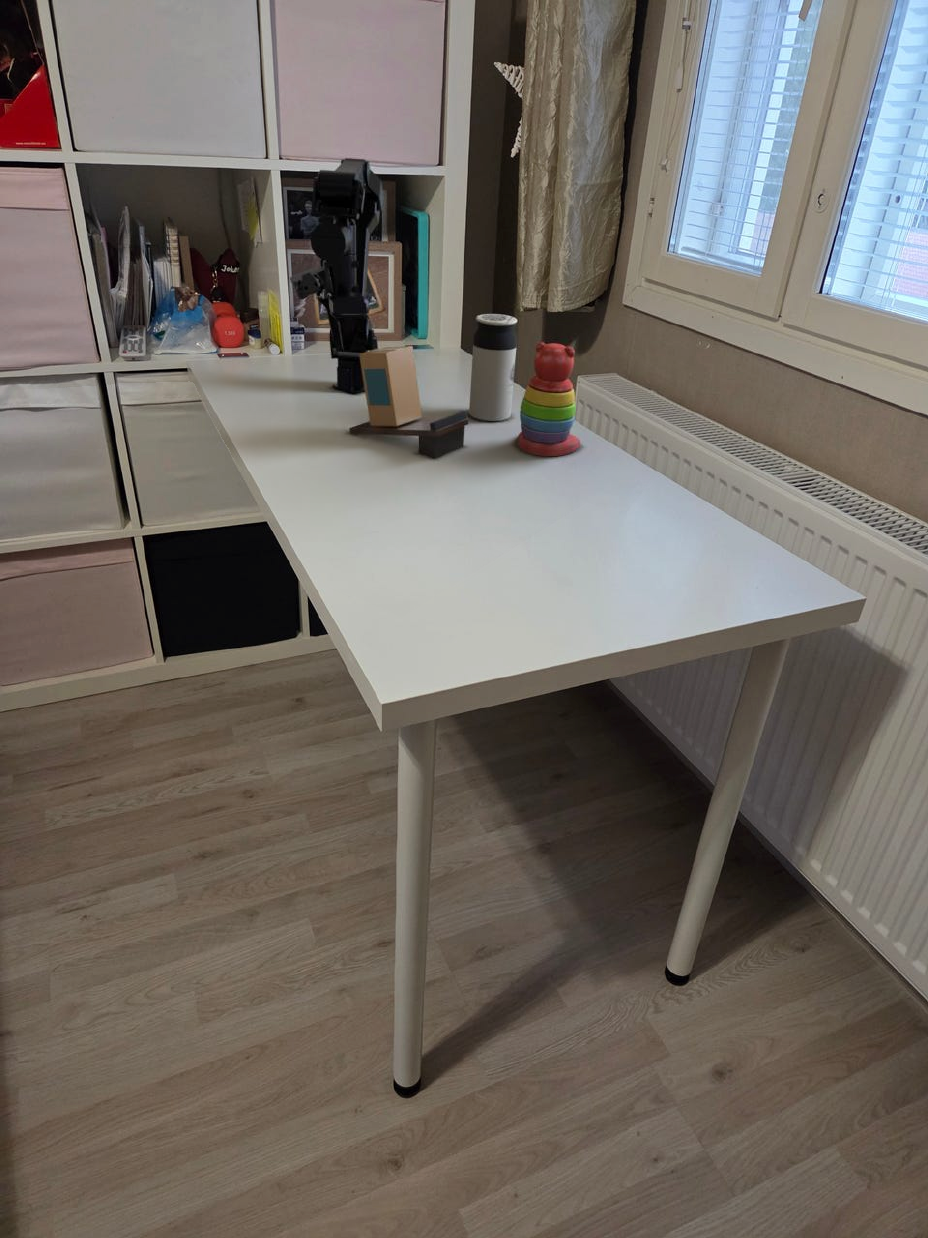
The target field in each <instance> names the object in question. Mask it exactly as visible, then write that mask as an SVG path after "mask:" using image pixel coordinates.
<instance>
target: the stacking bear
mask: <svg viewBox="0 0 928 1238" xmlns="http://www.w3.org/2000/svg"><path fill="white" fill-rule="evenodd" d="M535 351H536V353H535V355H534V359H533V368H534V372H535V375H534V376H533V377H531V379H530V380H529V382H528V384H527V386H526V388H525V391H524V394H523V397H522V399H521V400H522V401H521V404H520V410H519V411H520V412H519V418H520V419H519V420H520V429H521V431H520V433H518V436H517V442H516V443H517V446H518V448H519V449H521V450H522V451H523V452H525V453H528V454H531V455H534V456H542V457H556V456H557V457H558V456H563V455H568V454H570V453H573V452H575V451H577V450H578V449H579V448H580V446H581V440H580V439H579V437H577V436H576V435H574V434H571V429H572V428H573V425H574V422H575V419H576V394H575V389H574V385H573V383H572V382H571V380H570V379H569V377H570V375H571V373H572V372H573V369H574V364H575V357H574V356H575V354H576V352H575V349H574V348H573V347H572V346H569V345H567V346H565V345H563V344H561V343H555V342H554V343H553V342H552V343H545V342H543V341H541V342H538V343H537V344H536V346H535Z"/></svg>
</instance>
